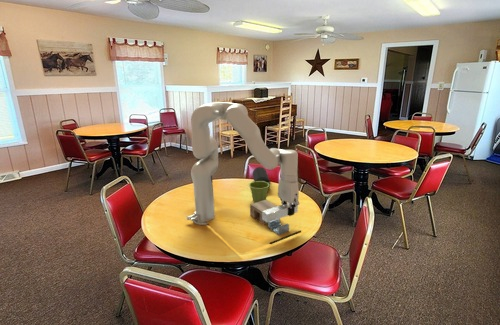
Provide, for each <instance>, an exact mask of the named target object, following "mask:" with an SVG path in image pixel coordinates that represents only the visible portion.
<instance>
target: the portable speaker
mask: <svg viewBox="0 0 500 325" xmlns="http://www.w3.org/2000/svg"><path fill="white" fill-rule="evenodd" d="M252 178H253V182H255V181H264V182H267V183H269V184H270V185H269V187H268V190H270V187H271V181H270V178H269V174H268V173H267V169H266V168H264V167H263V166H257V167H256V168H254V169H253V172H252Z"/></svg>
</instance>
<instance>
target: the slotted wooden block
mask: <svg viewBox="0 0 500 325" xmlns="http://www.w3.org/2000/svg"><path fill="white" fill-rule="evenodd" d="M277 206H278V205H276V204H274V203H272V202H271V201H269V200H267V199H266V200H263V201H260V202H257V203H256V202H253V203H250V204H249V212H250V213H249V216H250V217H251V218H253V219H254V220H256V221H257V222H259V223H261V224H262V226H265V225H268V223H267V222H266V221H264V220H263V219H262V211H264V210H267V209H270V208H274V207H277ZM279 219H281V218H279Z"/></svg>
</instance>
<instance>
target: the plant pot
mask: <svg viewBox="0 0 500 325" xmlns="http://www.w3.org/2000/svg"><path fill="white" fill-rule="evenodd" d="M269 185H270V186H271V183H270V184H269V183H267V182H264V181H255V182H254V181H252V182H249V184H248V187H249V188H250V192H251V197H252V202H253V203H257V202H260V201H263V200H267V196H268V190H269V189H268V187H269ZM269 188H270V187H269Z"/></svg>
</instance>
